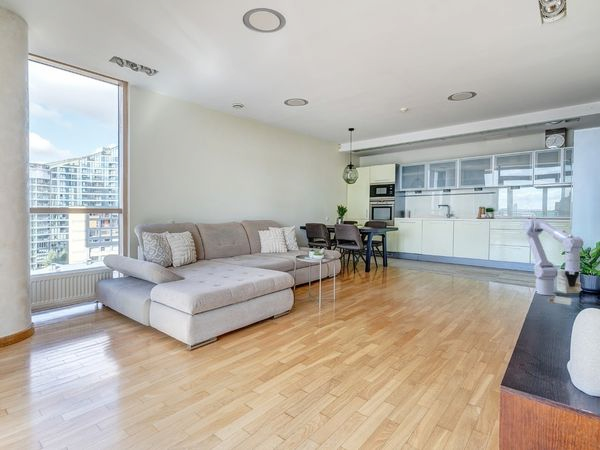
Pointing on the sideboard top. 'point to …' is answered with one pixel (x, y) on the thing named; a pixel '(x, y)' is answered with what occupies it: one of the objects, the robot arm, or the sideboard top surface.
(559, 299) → the acrylic channel
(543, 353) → the sideboard top surface
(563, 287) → the supplement box
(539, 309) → the sideboard top surface
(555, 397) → the sideboard top surface
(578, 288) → the maple block
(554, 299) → the trap plate
